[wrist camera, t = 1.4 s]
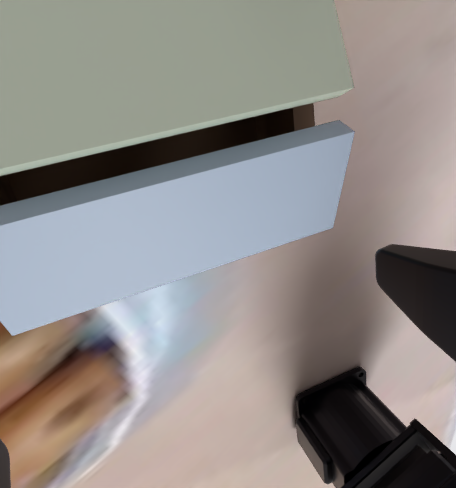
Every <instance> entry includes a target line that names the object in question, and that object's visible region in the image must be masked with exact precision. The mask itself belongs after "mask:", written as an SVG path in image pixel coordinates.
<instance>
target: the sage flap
mask: <svg viewBox="0 0 456 488" xmlns="http://www.w3.org/2000/svg"><path fill="white" fill-rule="evenodd" d="M353 88H354V85H353V80H352V76H351V72H350V67H349V63H348V59H347V54H346V50H345V46H344V42H343V37H342V33H341V29H340V24H339V20H338V16H337V11H336V7H335V3H334V0H0V176H3V175H7V174H11V173H15V172H20V171H24V170H28V169H33V168H37V167H41V166H45V165H50V164H54V163H58V162H62V161H67V160H71V159H75V158H80V157H84V156H88V155H92V154H97V153H101V152H105V151H109V150H114V149H118V148H122V147H127V146H131V145H135V144H139V143H144V142H148V141H152V140H156V139H161V138H165V137H169V136H173V135H178V134H182V133H186V132H191V131H195V130H199V129H203V128H208V127H212V126H216V125H220V124H225V123H229V122H233V121H238V120H242V119H246V118H250V117H255V116H259V115H263V114H267V113H272V112H276V111H280V110H285V109H289V108H293V107H297V106H302V105H306V104H310V103H314V102H319V101H323V100H327V99H332V98H336V97H339V96H341V95H342V94H344V93H346V92H348V91H349V90H351V89H353Z"/></svg>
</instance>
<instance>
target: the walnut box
mask: <svg viewBox="0 0 456 488" xmlns="http://www.w3.org/2000/svg"><path fill="white" fill-rule="evenodd" d="M314 126H315V122H314V105H313V103H310V104H306V105H302V106H297V107H293V108H289V109H285V110H280V111H276V112H272V113H267V114H263V115H259V116H255V117H250V118H246V119H242V120H238V121H233V122H229V123H225V124H220V125H216V126H212V127H208V128H203V129H199V130H195V131H191V132H186V133H182V134H178V135H173V136H169V137H165V138H161V139H156V140H152V141H148V142H144V143H139V144H135V145H131V146H127V147H122V148H118V149H114V150H109V151H105V152H101V153H97V154H92V155H88V156H84V157H80V158H75V159H71V160H67V161H62V162H58V163H54V164H50V165H45V166H41V167H37V168H33V169H28V170H24V171H20V172H15V173H11V174H7V175H3V176H0V206H1V205H5V204H9V203H13V202H17V201H21V200H25V199H29V198H33V197H37V196H41V195H45V194H49V193H52V192H56V191H60V190H64V189H68V188H72V187H76V186H80V185H84V184H88V183H92V182H96V181H100V180H104V179H108V178H112V177H116V176H120V175H124V174H128V173H132V172H136V171H140V170H143V169H147V168H151V167H155V166H159V165H163V164H167V163H171V162H175V161H179V160H183V159H187V158H191V157H195V156H199V155H203V154H207V153H211V152H215V151H219V150H223V149H227V148H231V147H235V146H238V145H242V144H246V143H250V142H254V141H258V140H262V139H266V138H270V137H274V136H278V135H282V134H286V133H290V132H294V131H298V130H302V129H306V128H310V127H314Z"/></svg>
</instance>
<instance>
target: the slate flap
mask: <svg viewBox="0 0 456 488" xmlns="http://www.w3.org/2000/svg"><path fill="white" fill-rule="evenodd" d="M354 133H355V131H353V130H352V129H351V128H349V127H348V126H347V125H345V124H344V123H342V122H341V121H340V120H337V121H333V122H329V123H326V124H322V125H318V126H314V127H310V128H306V129H302V130H298V131H294V132H290V133H286V134H282V135H278V136H274V137H270V138H266V139H262V140H258V141H254V142H250V143H246V144H242V145H238V146H235V147H231V148H227V149H223V150H219V151H215V152H211V153H207V154H203V155H199V156H195V157H191V158H187V159H183V160H179V161H175V162H171V163H167V164H163V165H159V166H155V167H151V168H147V169H143V170H140V171H136V172H132V173H128V174H124V175H120V176H116V177H112V178H108V179H104V180H100V181H96V182H92V183H88V184H84V185H80V186H76V187H72V188H68V189H64V190H60V191H56V192H52V193H49V194H45V195H41V196H37V197H33V198H29V199H25V200H21V201H17V202H13V203H9V204H5V205H1V206H0V321H1V323H2V324H3V325H4V326H5V327H6V329H7V330H8V331H9V332H10V334H11V335H12V336H13V335H16V334H19V333H22V332H25V331H28V330H31V329H34V328H37V327H40V326H43V325H46V324H49V323H52V322H55V321H58V320H61V319H64V318H67V317H70V316H73V315H76V314H79V313H82V312H85V311H87V310H90V309H93V308H96V307H99V306H102V305H105V304H108V303H111V302H114V301H117V300H120V299H123V298H126V297H129V296H132V295H135V294H138V293H141V292H144V291H147V290H150V289H153V288H156V287H159V286H162V285H165V284H168V283H171V282H174V281H177V280H180V279H182V278H185V277H188V276H191V275H194V274H197V273H200V272H203V271H206V270H209V269H212V268H215V267H218V266H221V265H224V264H227V263H230V262H233V261H236V260H239V259H242V258H245V257H248V256H251V255H254V254H257V253H260V252H263V251H266V250H269V249H272V248H275V247H278V246H280V245H283V244H286V243H289V242H292V241H295V240H298V239H301V238H304V237H307V236H310V235H313V234H316V233H319V232H322V231H325V230H328V229H331V228H333V225H334V221H335V217H336V212H337V208H338V203H339V199H340V195H341V190H342V186H343V181H344V177H345V172H346V168H347V164H348V159H349V155H350V150H351V146H352V142H353V137H354Z"/></svg>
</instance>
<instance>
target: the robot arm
mask: <svg viewBox="0 0 456 488" xmlns="http://www.w3.org/2000/svg"><path fill="white" fill-rule="evenodd" d="M375 262H376V279H377V283H378V285H379V286H380V288H381V289H382V290H383V291H384V292H385V293H386V294H387V295H388V296H389V297H390V298H391V299H392V301H393V302H394V303H395V304H396V305H397V306H398V307H399V308H400V309H401V310H402V311H403V312H404V313H405V314H406V316H407V317H408V318H409V319H410V320H411V321H412V322H413V323H414V324H415V325H416V326H417V327H418V328H419V329H420V330H421V331H422V332H423V333H424V334H425V335H426V336H427V337H428V338H429V339H430V340H432V341H433V342H434V343H435V344H436V345H437V346H438V347H440V348H441V349H442V350H443V351H444V352H445V353H446V354H448V355H449V356H450V357H451V358H452V359H453V360H454V361H456V251H449V250H440V249H431V248H422V247H413V246H404V245H396V244H391V245H388V246H386V247H383V248H381V249H379V250H378V251H377V252H376V254H375ZM295 402H296V410H297V420H296V429H297V437H298V442H299V444H300V445H301V447H302V448H303V450H304V452H305V453H306V455H307V456H308V458H309V460H310V461H311V463H312V464H313V466H314V467H315V469H316V471H317V472H318V474H319V475H320V477H321V479H322V480H323V482H324V483H326V484H330V483H333V484H334V486H335V487H336V488H456V455H455V454H454V453H453V452H452V451H451V450H450V449H448V448H447V447H446V446H445V445H444V444H443V443H442V442H441V441H440V440H438V439H437V438H436V437H435V436H434V435H433V434H432V433H431V432H430V431H429V430H427V429H426V428H425V427H424V426H423V425H422V424H421V423H420V422H419V421H417V420H416V419H414V420H412V421H411V422H410V425H409V426H408V427H406V426H405V425H404V424H403V423H402V422H401V421H400V420H399V419H398V418H397V417H396V416H395V415H394V414H393V413H392V412H391V411H390V410H389V408H388V407H387V406H386V405H385V404H384V403H383V402H382V401H381V400H380V399H379V398H378V397H377V396H376V395H375V394H374V393H373V392H372V391H371V390H370V389H369V388H368V387H367V386H366V371H365V370H364V369H363V368H362V367H358V368H355V369H353V370H351V371H349V372H347V373H345V374H342V375H340V376H338V377H336V378H334V379H331V380H329V381H327V382H325V383H323V384H320V385H318V386H316V387H314V388H312V389H309V390H307V391H305V392H303V393H301V394H299V395H298V396H297V397H296V399H295ZM0 488H11V482H10V458H9V453H8V450H7V447H6V446H5V444H4V443H3V442H2V440H1V439H0Z"/></svg>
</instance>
